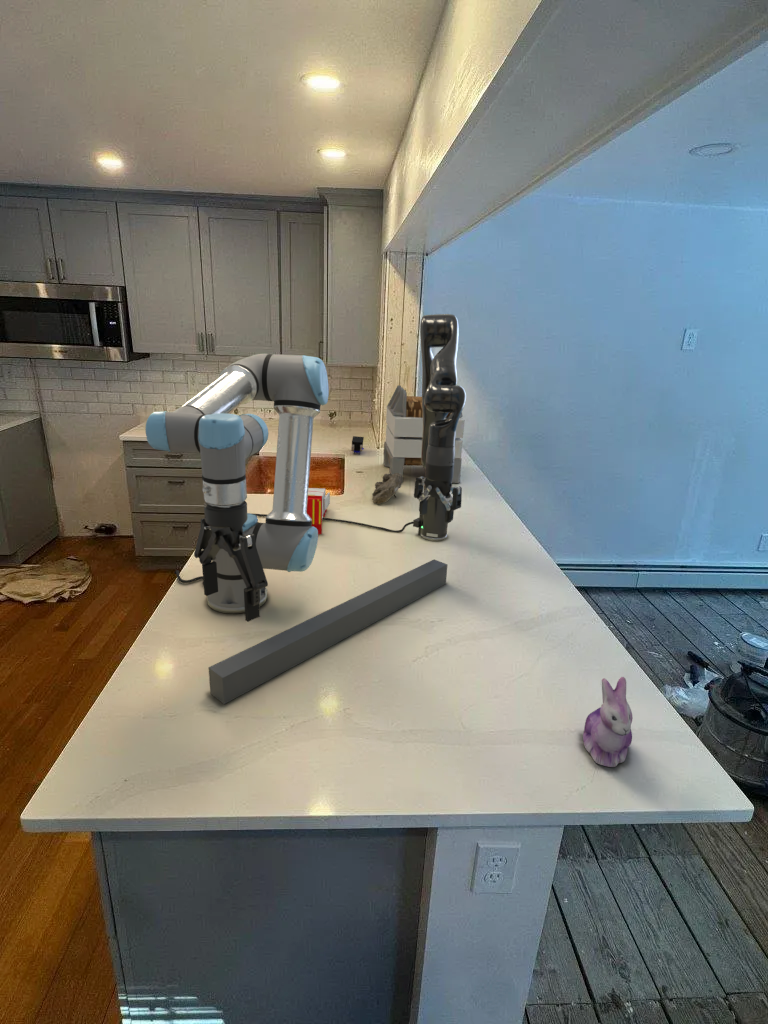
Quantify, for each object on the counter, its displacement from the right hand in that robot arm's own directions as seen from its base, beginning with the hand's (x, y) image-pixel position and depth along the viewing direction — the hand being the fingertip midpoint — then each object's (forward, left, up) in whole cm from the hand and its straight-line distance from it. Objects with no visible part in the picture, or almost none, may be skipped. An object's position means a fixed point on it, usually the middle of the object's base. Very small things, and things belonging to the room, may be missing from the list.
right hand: (435, 518), depth 156 cm
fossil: (-56, +58, -21) cm, 83 cm away
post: (-4, -33, -21) cm, 39 cm away
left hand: (-7, -66, -1) cm, 66 cm away
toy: (-61, +16, -21) cm, 66 cm away
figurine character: (-113, +110, -21) cm, 159 cm away
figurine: (+59, -36, -21) cm, 72 cm away
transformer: (-66, +99, -21) cm, 121 cm away
